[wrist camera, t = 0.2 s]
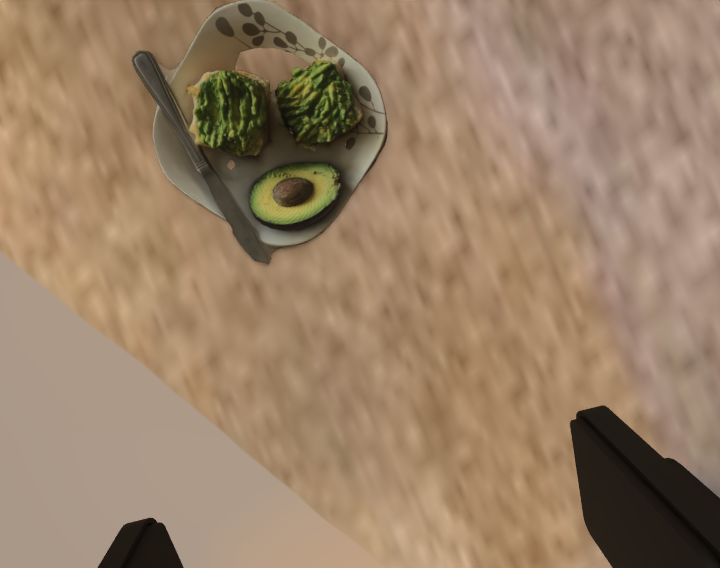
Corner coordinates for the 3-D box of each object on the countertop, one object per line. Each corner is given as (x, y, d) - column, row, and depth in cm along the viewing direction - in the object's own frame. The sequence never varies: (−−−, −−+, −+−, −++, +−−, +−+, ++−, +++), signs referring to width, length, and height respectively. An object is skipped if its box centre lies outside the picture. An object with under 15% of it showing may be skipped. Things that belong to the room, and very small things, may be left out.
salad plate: (94, 146, 37) (60, 144, 33) (208, -55, 34) (188, -88, 29) (291, 278, 41) (285, 293, 36) (412, 108, 37) (422, 100, 33)
